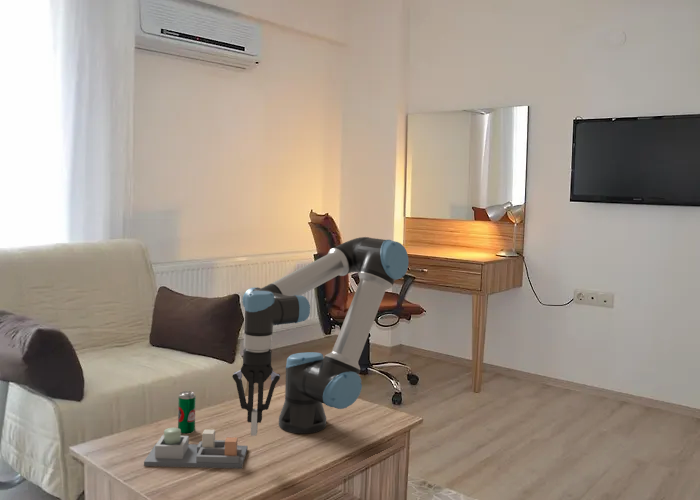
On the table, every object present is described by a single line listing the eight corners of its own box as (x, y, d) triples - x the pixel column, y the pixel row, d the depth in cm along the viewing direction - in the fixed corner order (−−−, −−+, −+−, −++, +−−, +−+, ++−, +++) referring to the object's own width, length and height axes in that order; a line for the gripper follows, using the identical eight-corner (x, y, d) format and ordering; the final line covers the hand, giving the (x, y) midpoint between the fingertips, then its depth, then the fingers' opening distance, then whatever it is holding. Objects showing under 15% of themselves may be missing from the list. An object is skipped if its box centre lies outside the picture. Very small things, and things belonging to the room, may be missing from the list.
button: (182, 438, 178) (182, 427, 178) (178, 444, 174) (178, 434, 173) (166, 437, 178) (166, 427, 178) (162, 444, 174) (162, 433, 173)
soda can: (190, 435, 191) (191, 396, 190) (174, 433, 192) (175, 395, 191) (197, 429, 196) (198, 391, 195) (182, 427, 197) (183, 389, 196)
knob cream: (214, 446, 181) (215, 429, 180) (212, 451, 178) (213, 433, 177) (204, 446, 181) (204, 429, 180) (202, 450, 178) (202, 433, 177)
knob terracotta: (237, 454, 176) (237, 437, 175) (235, 459, 173) (236, 441, 172) (226, 454, 176) (226, 437, 175) (224, 459, 173) (224, 441, 172)
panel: (247, 449, 183) (247, 434, 183) (241, 468, 171) (242, 452, 171) (156, 447, 182) (156, 431, 182) (143, 465, 170) (144, 449, 170)
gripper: (282, 346, 175) (279, 429, 178) (235, 344, 175) (232, 427, 177) (280, 353, 168) (276, 440, 170) (231, 351, 167) (227, 438, 170)
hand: (254, 433), depth 174 cm, fingers closed
